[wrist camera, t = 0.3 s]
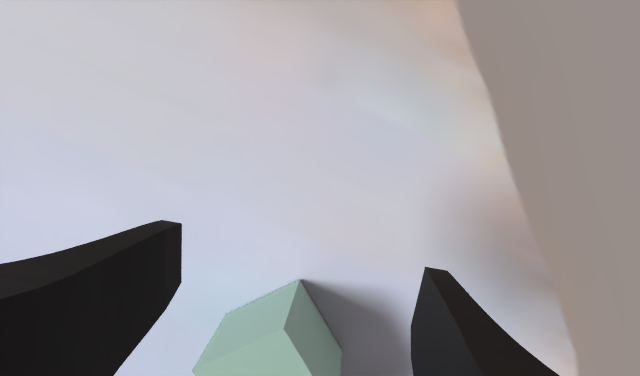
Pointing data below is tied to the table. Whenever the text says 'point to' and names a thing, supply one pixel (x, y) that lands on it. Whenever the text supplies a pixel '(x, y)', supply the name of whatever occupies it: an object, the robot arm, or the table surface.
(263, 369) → the green cube
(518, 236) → the table surface
